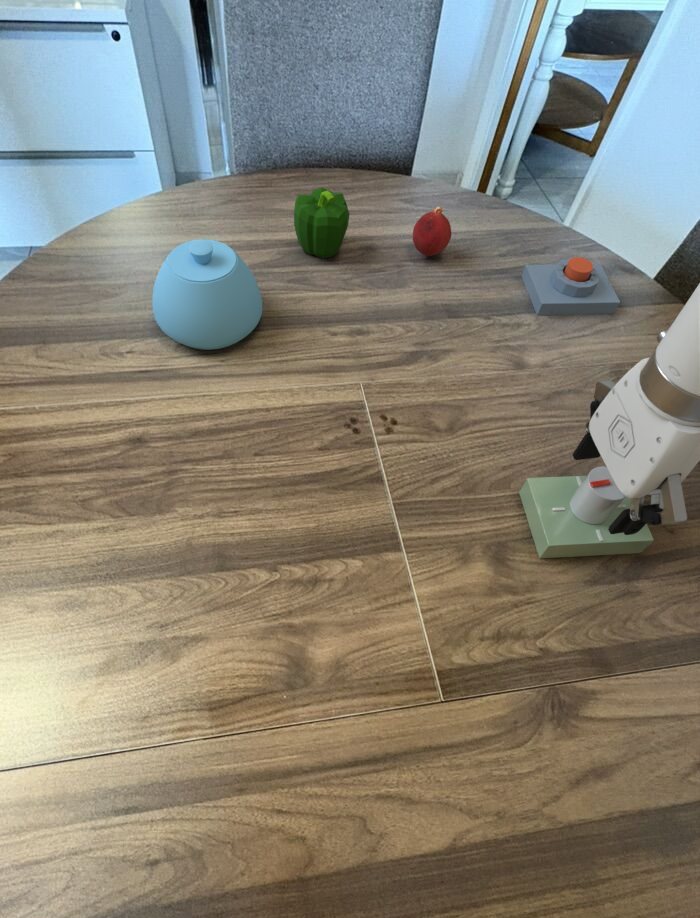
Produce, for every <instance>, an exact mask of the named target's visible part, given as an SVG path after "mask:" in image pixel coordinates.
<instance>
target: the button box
mask: <svg viewBox="0 0 700 918" xmlns="http://www.w3.org/2000/svg"><path fill="white" fill-rule="evenodd" d="M570 259H571V258H565V259H561V260H559V261H558V262H556V263H555V264H554V263H553V264H525V266H524V269H523V271H522V274H521V280H522V282H523V284H524V286H525V289H526V293H527V294H528V297H529V300H530V301H531V304H532V306H533V308H534V311H535V314H536V316H577V315H580V316H581V315H582V316H585V315H614V314H615V313H616V312H617V309H618V308H619V306H620V304H621V301H620V299H619V296H618V295H617V293H616V291H615V289H614V287H613V285H612V283H611V281H610V279H609V277H608V275H607V273H606V272H605V270H604V268H603V266H602V264H601V263H592V264H593V270H592V272H591V274H590V276H589V278H588V280H587V281H585V282H576V281H573V280H570V279H569V278H568V277H566V276H565V274H564V271H565V268H566V266H567V264H568V262H569V260H570Z"/></svg>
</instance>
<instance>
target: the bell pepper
mask: <svg viewBox="0 0 700 918" xmlns="http://www.w3.org/2000/svg"><path fill="white" fill-rule="evenodd" d="M349 220H350V211H349V209H348V204H347V201H346V198H345V196H344V193H343V192H333V191H331V190H329V189H326V188H325V187H318V188H316V189H313V190H312V191H311V194H306V193H305V194H299V195H297V197H296V199H295V202H294V209H293V226H294V229H295V234H296V239H297V241H298V244H299V246H300V248H301V249H302V250H303V252H304V253H305V254H309V255H314V256H315V257H318V258H321V259H326V258H327V259H328V258H332V257H333V256H335V255H337V253H338V252H339V251H340V249H341V247H342V244H343V242H344V239H345V236H346V233H347V231H348V227H349V222H350V221H349Z"/></svg>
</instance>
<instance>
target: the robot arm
mask: <svg viewBox="0 0 700 918" xmlns="http://www.w3.org/2000/svg"><path fill="white" fill-rule="evenodd" d="M656 340H657V343H658V345H657V346H656V348H655V350H654V351H653V353H651V355H650V356H649V357H644V358H643V359H641V360H640V361H638V362H637V363H636V364H635V365H634V366H632V367H631V368H630V369H629V370H628V371H627V372H625V374H624V375H623V376H622V377H621V378H620V379H619V380H618V381H617V382H616V383H615V382H614V381H612V380H610V379H609V380H600V381H597V382H596V384H595V388H594V395H593V399H594V400H592V401H591V402H590V406H589V408H590V409H589V410H590V411H589V421H586V423H585V426H584V427H585V431H586V433H585V434H584V435H583V437H582V438H581V440H580V442H579V443H578V445H577V446H576V448H575V450H574V451H573V453H572V457H573V459H574V460H575V461H582V460H583V461H584V460H589V459H596V458H600V457H601V459H602V461H603V463H604V466H606V467H607V469H608V470H609V472H610V474H611V476H612V478H613V480H614V482H615V484H616V485H617V487H618V489H619V490H620V491H621V493H622V494H623V495H625V496H626V497H627V498H629V499H631V503H630V509H625V510H623V511H622V512H621V514H620V515H619V516H618V517H617V518H616V519H615V521H614V522H613V523H612V524H611V525H610V526H609V529H608V530H609V532H610V534H618V533H624V534H625V535H631V534H635V533H637V532H639V531H640V530H641V529H642V528H643V527H644V526H645V525H646V524H647V525H651V526H661V525H662V526H665V525H674V524H681V523H685V522H687V520H688V514H687V513H688V512H687V509H686V508H687V507H686V502H685V497H684V491H683V486H682V483H683V482H684V480H685V479H686V478H687V477H688V476H689V474H690V473H691V472H692V471H693V470H694V468H696V466H697V464H699V462H700V282H699V283H698V285H697V287H696V288H695V289H694V290H693V292H692V293H691V295H690V297H689V299H688V300H687V302H685V304H684V306H683V307H682V309H681V310H680V312H679V313H678V315H677V316H676V318H675V319H674V321H673V322H672V324H671V325H670V327H669V328H668V329H665V330H663V331H660V333H658V335H657V336H656ZM647 496H648V497H649V496H651V497H650V504H644V501H645V497H647Z"/></svg>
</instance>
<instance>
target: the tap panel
mask: <svg viewBox="0 0 700 918" xmlns="http://www.w3.org/2000/svg"><path fill="white" fill-rule="evenodd" d="M586 477H587V475H568V476H566V475H565V476H544V477H527V478H526V479H525V481H524V482H523V484H522V486H521V488H520V489H519V491H518V494H519V497H520V501H521V503H522V507H523V510H524V513H525V517H526V520H527V523H528V526H529V529H530V533H531V536H532V539H533V542H534V545H535V549H536V552H537V555H538V558H539V559H553V558H554V559H556V558H573V557H592V556H593V557H594V556H611V555H612V556H613V555H631V554H641V553H643V551H644V550H646V549H647V548H648V547H649V546H650V545H651V544H652V543H653V542H654V540H655V539H654V537H653V534H652V532H651V530H650V528H649V524H648V523H647V524H646V525H645V526H644V527H643V528H642V529H641V530H640V531H639V532H637V533H635V534H631V535H625V534H624V533H618V534H610V532H609V530H608V529H609V526H610V525H611V524H612V523H613V522H614V521H615V519H616V518H617V517H618V516H619V515H620V514H621V512H622V511H623V510H625V509H630V503H631V499H629V498H627V497H625V499H624V500H623V501H622V502H621V503H620V504H619V506H618V507H617V508H616V509H615V510H614V511H613V513H612V514H611V515H610V516H609V517H608V518H607V520H606V521H604V522H603V523H600V524H588V523H585V522H583V521H581V520H580V519H578V518H577V517H576V516H575V515H574V514H573V512H572V511H571V508H570V500H571V497H572V496H573V495H574V493H575V492H576V490H577V489H578V488H579V486H580V485H581V484H582V482H583V481H584V479H585V478H586Z"/></svg>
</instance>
